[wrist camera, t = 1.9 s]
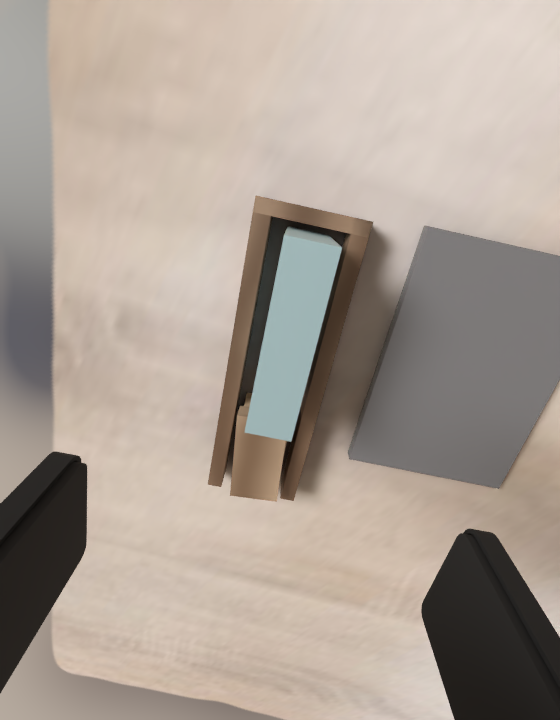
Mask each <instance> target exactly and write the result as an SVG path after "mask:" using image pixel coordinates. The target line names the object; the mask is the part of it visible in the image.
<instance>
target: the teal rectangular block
mask: <svg viewBox="0 0 560 720" xmlns="http://www.w3.org/2000/svg"><path fill="white" fill-rule="evenodd" d="M341 250H342V247H341V246H340V245H339V244H338V243H337V242H335V241H334V240H333V239H332V238H331V237H330V236H329V235H326V234H322V233H317V232H313V231H308V230H304V229H299V228H295V227H290V226H288V227H287V230H286V232H285V234H284V238H283V243H282V248H281V253H280V258H279V262H278V267H277V272H276V277H275V282H274V287H273V292H272V297H271V302H270V307H269V312H268V317H267V322H266V327H265V332H264V337H263V342H262V347H261V352H260V357H259V362H258V367H257V372H256V377H255V382H254V387H253V392H252V397H251V402H250V407H249V412H248V417H247V422H246V427H245V433H250V434H255V435H260V436H265V437H270V438H275V439H280V440H285V441H290V442H291V441H292V437H293V433H294V430H295V426H296V422H297V418H298V414H299V410H300V407H301V403H302V399H303V395H304V391H305V388H306V384H307V380H308V376H309V372H310V368H311V365H312V361H313V357H314V353H315V349H316V346H317V342H318V338H319V334H320V330H321V326H322V323H323V319H324V315H325V311H326V307H327V304H328V300H329V296H330V292H331V288H332V284H333V281H334V277H335V273H336V269H337V265H338V262H339V258H340V254H341Z"/></svg>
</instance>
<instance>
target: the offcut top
mask: <svg viewBox="0 0 560 720" xmlns="http://www.w3.org/2000/svg"><path fill="white" fill-rule="evenodd" d="M248 412H249V407H246V406H240V407H239V411H238V414H237V422H236V433H235V445H234V457H233V468H232V480H231V491H230V495H231V496H238V497H246V498H253V499H261V500H269V501H276V502H277V495H278V489H279V482H280V475H281V469H282V462H283V455H284V449H285V442H286V441H285V440H280V439H275V438H270V437H265V436H260V435H255V434H250V433H245V427H246V422H247V417H248Z"/></svg>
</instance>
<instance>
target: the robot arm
mask: <svg viewBox="0 0 560 720" xmlns="http://www.w3.org/2000/svg"><path fill="white" fill-rule="evenodd" d="M86 533H87V465H86V464H84V463H81V458H80V456H76V455H71V454H66V453H60V452H52V453H51V454H49V455H48V456H47V457H46V458H45V459H44V460H43V461H42V462H41V463H40V464H39V465H38V466H37V468H36V469H34V470H33V471H32V472H31V473H30V474H29V475H28V476H27V477H26V478H25V479H24V481H23V482H22V483H21V484H20V485H19V486H18V487H17V488H16V489H15V490H14V491H13V492H12V493H11V494H10V495H9V496H8V497H7V498H6V499H5V500H4V501H3V502H2V503H0V693H1V691H2V690H3V688H4V686H5V685H6V683H7V681H8V679H9V678H10V676H11V675H12V673H13V671H14V670H15V668H16V666H17V665H18V663H19V661H20V660H21V658H22V656H23V655H24V653H25V651H26V650H27V648H28V646H29V645H30V643H31V642H32V640H33V638H34V636H35V635H36V633H37V632H38V630H39V628H40V626H41V625H42V623H43V622H44V620H45V618H46V617H47V615H48V613H49V612H50V610H51V608H52V607H53V605H54V603H55V602H56V600H57V598H58V597H59V595H60V593H61V592H62V590H63V588H64V587H65V585H66V583H67V582H68V580H69V578H70V577H71V575H72V574H73V572H74V570H75V569H76V567H77V565H78V564H79V562H80V560H81V558H82V556H83V554H84V551H85V548H86ZM422 618H423V622H424V625H425V628H426V631H427V634H428V637H429V640H430V644H431V647H432V650H433V653H434V656H435V659H436V662H437V666H438V669H439V672H440V675H441V678H442V681H443V685H444V688H445V691H446V694H447V697H448V700H449V703H450V707H451V710H452V713H453V716H454V719H455V720H560V637H559V636H558V634H557V632H556V631H555V629H554V628H553V626H552V624H551V623H550V621H549V620H548V618H547V616H546V615H545V613H544V612H543V610H542V608H541V607H540V605H539V604H538V602H537V600H536V599H535V597H534V595H533V594H532V592H531V591H530V589H529V587H528V586H527V584H526V583H525V581H524V579H523V578H522V576H521V575H520V573H519V571H518V570H517V568H516V567H515V565H514V563H513V562H512V560H511V559H510V557H509V555H508V554H507V552H506V551H505V549H504V547H503V546H502V544H501V543H500V541H499V539H498V538H497V537H496V535H495V534H493V533H491V532H485V531H480V530H474V529H467V530H465V532H464V533H463V534H462V533H461V534H459V535H458V536H457V538H456V540H455V542H454V544H453V546H452V547H451V549H450V551H449V553H448V555H447V557H446V559H445V561H444V563H443V565H442V566H441V568H440V570H439V572H438V574H437V576H436V578H435V580H434V582H433V584H432V585H431V587H430V589H429V591H428V593H427V595H426V597H425V599H424V601H423V603H422Z"/></svg>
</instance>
